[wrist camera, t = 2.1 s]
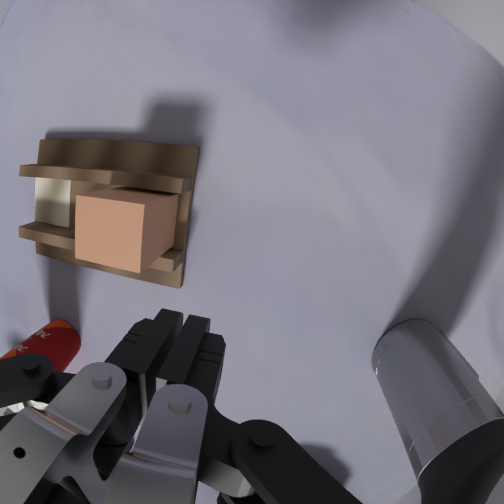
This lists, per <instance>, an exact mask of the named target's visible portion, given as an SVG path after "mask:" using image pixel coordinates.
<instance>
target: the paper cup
mask: <svg viewBox="0 0 504 504" xmlns="http://www.w3.org/2000/svg"><path fill="white" fill-rule="evenodd" d="M80 347H81V342H80V338H79V336H78V334H77V332H76V331H75V329H74V328H73V327H72V326H71V325H70V324H69V323H68V322H66V321H64V320H61V319H56V320H54V321H52V322H51V323H49V324H47V325H46V326H44V327H43V328H42V329H40V330H39V331H37V332H36V333H34V334H33V335H31V336H30V337H29V338H27V339H26V340H24V341H23V342H22V343H20V344H19V345H18V346H16V347H15V348H13V349H12V350H11V351H9V352H8V353H7V354H5V355H4V356H3V357H1V358H0V359H4V358H8V357H13V356H17V355H22V354H26V353H40V354H43V355H45V356H47V357H48V358H49V359H50V360H51V362H52V365H53V368H54V371H57V372H63V371H64V370H65V369H66V367H67V366H68V365H69V364H70V362H71V361H72V360H73V358H74V357H75V356H76V354H77V353H78V351H79V350H80ZM7 407H8V408H9V409H11V410H12V411H13V412H15V413H16V412H19V411H20V410H21V409H23V408H24V406H23V403H18V404H14V405H10V406H7Z"/></svg>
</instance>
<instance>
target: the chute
mask: <svg viewBox="0 0 504 504" xmlns="http://www.w3.org/2000/svg"><path fill="white" fill-rule="evenodd" d="M198 154H199V147H192V146H183V145H173V144H162V143H150V142H136V141H119V140H91V139H44V140H40V143H39V152H38V162H37V164H29V165H20V174H19V176H26V177H36V183H35V222H32V223H29V224H26V225H23V226H20V227H19V237H21V238H25V239H29V240H33V241H36V253H37V254H41V255H44V256H48V257H51V258H55V259H58V260H62V261H66V262H70V263H73V264H77V265H81V266H85V267H89V268H93V269H97V270H101V271H105V272H109V273H113V274H117V275H121V276H125V277H130V278H134V279H138V280H143V281H147V282H151V283H156V284H160V285H165V286H170V287H174V288H179V289H180V288H181V287H182V284H183V273H184V263H185V253H186V243H187V234H188V226H189V218H190V210H191V202H192V195H193V187H194V180H195V174H196V167H197V160H198ZM121 186H126V187H134V188H142V189H149V190H157V191H164V192H171V193H178V194H179V200H178V208H177V217H176V226H175V236H174V245H173V246H172V247H171V248H170V249H168V250H167V251H166V252H165V253H164V254H162V255H161V256H160V257H159V258H158V259H156V260H155V261H154V262H153V263H152V264H150V265H149V266H148V267H147V268H146V269H145V270H143V271H142V272H141V273H136V272H132V271H127V270H123V269H119V268H114V267H110V266H106V265H102V264H98V263H94V262H89V261H85V260H81V259H77V258H75V212H76V195H79V194H84V193H89V192H94V191H99V190H105V189H110V188H116V187H121Z"/></svg>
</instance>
